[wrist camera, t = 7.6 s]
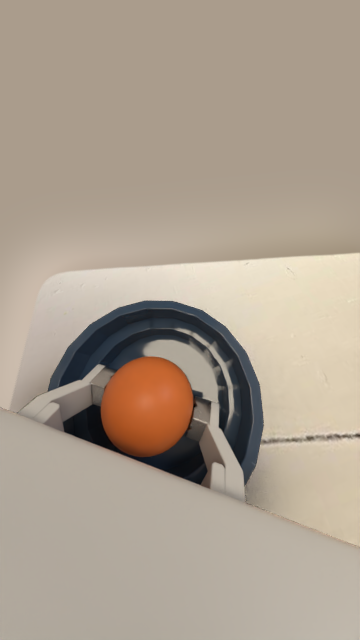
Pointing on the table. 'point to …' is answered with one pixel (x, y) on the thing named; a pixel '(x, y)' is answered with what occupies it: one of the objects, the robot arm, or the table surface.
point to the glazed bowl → (195, 361)
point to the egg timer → (147, 406)
